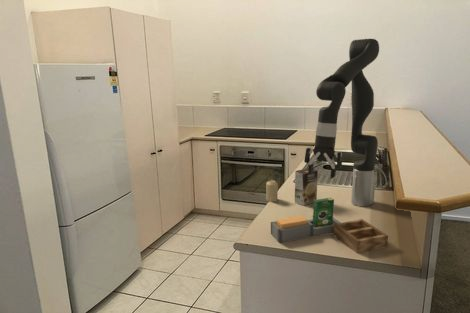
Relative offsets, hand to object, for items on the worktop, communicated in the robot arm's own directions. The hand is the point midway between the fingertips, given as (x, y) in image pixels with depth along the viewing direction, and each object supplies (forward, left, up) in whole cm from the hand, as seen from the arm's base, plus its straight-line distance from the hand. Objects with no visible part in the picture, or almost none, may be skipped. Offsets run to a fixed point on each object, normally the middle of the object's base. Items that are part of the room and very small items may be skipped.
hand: (321, 176), depth 138 cm
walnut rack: (-10, +13, -23) cm, 28 cm away
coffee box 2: (-2, 0, -23) cm, 23 cm away
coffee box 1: (-10, -29, -23) cm, 38 cm away
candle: (+4, -38, -23) cm, 45 cm away
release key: (+12, 0, -21) cm, 24 cm away
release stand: (+6, 0, -23) cm, 24 cm away
